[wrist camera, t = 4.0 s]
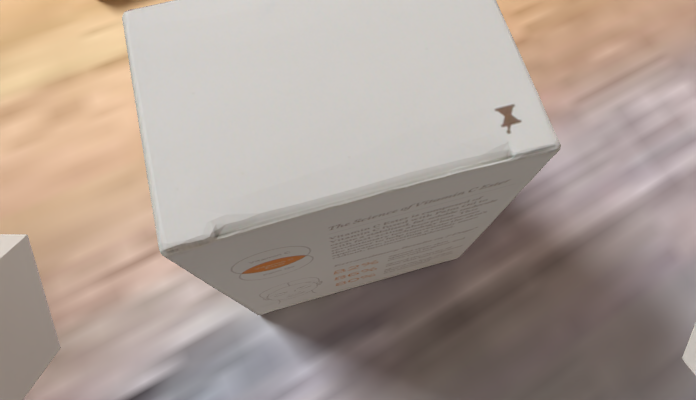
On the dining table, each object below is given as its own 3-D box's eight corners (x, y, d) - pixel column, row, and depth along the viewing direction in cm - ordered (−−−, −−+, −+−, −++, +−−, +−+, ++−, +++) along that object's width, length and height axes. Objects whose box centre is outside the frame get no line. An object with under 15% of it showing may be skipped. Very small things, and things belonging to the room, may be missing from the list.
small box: (415, 132, 22) (475, -78, 12) (461, 262, 20) (577, 144, 10) (224, 181, 21) (111, 2, 11) (254, 319, 19) (152, 256, 9)
